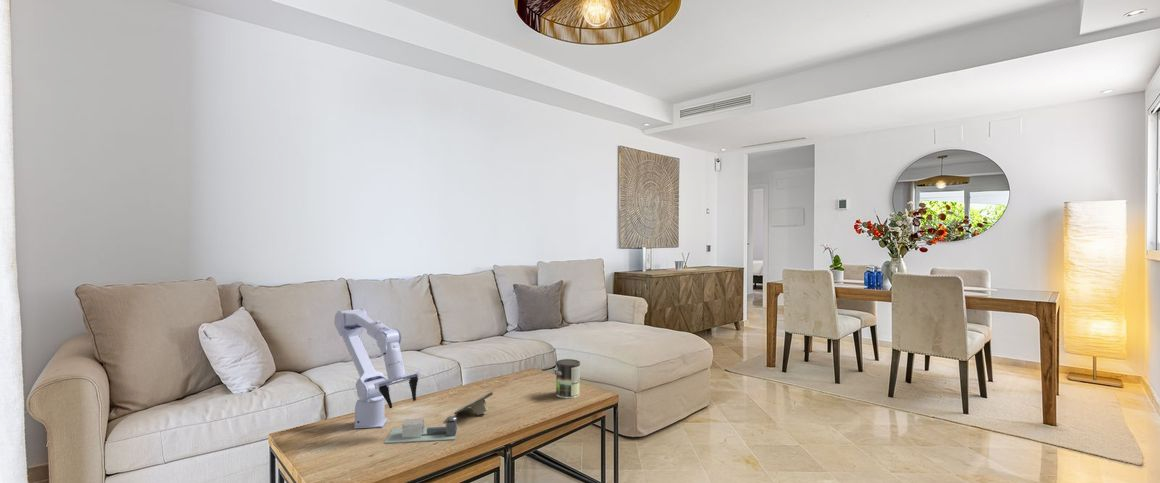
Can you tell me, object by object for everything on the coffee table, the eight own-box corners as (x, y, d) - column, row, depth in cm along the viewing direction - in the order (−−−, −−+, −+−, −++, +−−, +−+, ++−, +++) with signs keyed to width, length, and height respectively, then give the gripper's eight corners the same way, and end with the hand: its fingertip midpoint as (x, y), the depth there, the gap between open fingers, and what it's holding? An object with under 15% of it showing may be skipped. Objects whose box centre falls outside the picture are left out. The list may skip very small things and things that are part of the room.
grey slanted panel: (462, 435, 173) (494, 407, 174) (447, 415, 174) (479, 388, 175) (473, 425, 189) (503, 399, 190) (460, 407, 190) (489, 382, 191)
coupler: (425, 437, 160) (426, 421, 160) (428, 431, 165) (428, 416, 165) (455, 435, 161) (455, 420, 161) (457, 430, 166) (457, 414, 166)
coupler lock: (402, 438, 158) (402, 424, 158) (405, 432, 163) (405, 419, 163) (421, 437, 159) (421, 423, 159) (423, 431, 164) (423, 418, 164)
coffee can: (559, 399, 200) (559, 365, 200) (553, 392, 210) (553, 359, 210) (582, 397, 203) (583, 364, 203) (575, 390, 213) (576, 358, 213)
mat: (384, 443, 155) (384, 442, 155) (393, 429, 167) (393, 428, 167) (454, 440, 159) (454, 438, 159) (458, 426, 170) (458, 425, 170)
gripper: (372, 369, 158) (381, 410, 155) (417, 357, 165) (426, 396, 162) (371, 371, 163) (379, 411, 160) (414, 359, 171) (423, 398, 168)
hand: (403, 404), depth 162 cm, fingers open, 7 cm apart
